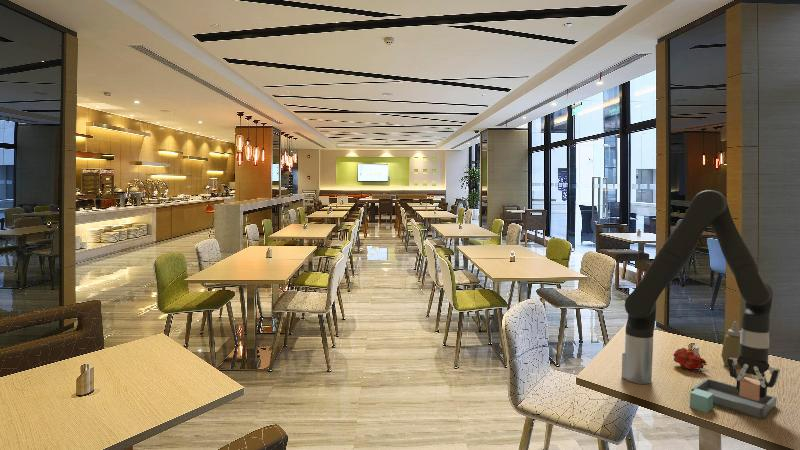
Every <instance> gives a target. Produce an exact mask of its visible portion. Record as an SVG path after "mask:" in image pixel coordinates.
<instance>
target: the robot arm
mask: <svg viewBox="0 0 800 450" xmlns="http://www.w3.org/2000/svg"><path fill="white" fill-rule="evenodd" d="M709 226H710V227H711V229H712V230H713V232H714V235H715V236H716V239H717V241H718V245H719V247H720V251H721V253H722V255H723V258H724V259H725V261H726V264H727V265H728V267H729V269H730V270H731V272H732V275H733V276H734V279H735V282H736V285H737V288H738V290H739V293H740V295H741V297H742V298H743V300H744V301H745V307H744V308H745V309H744V312H742V313H743V314H742V319H741V320H742V321H741V330H740V331H741V334H740V350H739V358H738V359H734V358H732V357H731V358H729V359H728V360H727V361H728V366H727V367H728V371H729V372H728V373H729V376H730V378H734V379H735V380H736V385H735V386H736V388H737V389H738V392H740V381H741V380H742V379H743V378H744V377H746V374H747V375H752V376H756V377H757V380H759V381H760V384H761V387H760V398H764V397H765V396H766V395H768V393H767V392H768V388H773V387H774V386H775V385H776V383H777V380H778V378H779V375H780V372H781V370H780V368H775V367H772V366H770V364H769V352H770V321H771V320H770V313H771V309H772V302H773V298H774V297H773V296H774V295H773V294H774V293H773V289H772V287H771V286H770V285H769V283H767V282H765V281H763V279H762V278H761V275H760V274H759V267H758V265H757V263H756V261H755V259H754V257H753V255H752V253H751V252H750V250H749V248H748V246H747V245H746V243H745V241H744V240H743V238H742V236H741V234H740V232H739V230H738V229H737V226H736V224H735V222H734V220H733V217H732V214H731V212H730V207H729V205H728V200H727V197H726V196H725V195H724V194H723V193H722V192H720V191H719V190H718V191H717V190H713V189H706V190H702V191H700V192H698V193H697V194H696V195H695V196H694V197H693V199H692V201H691V203H690V205H689V207H688V209H687V210H686V212H685V214H684V216H683V218H682V219H681V220H680V222H679V224H678V225H677V227H676V228H674V230H673V231H672V232H671V233H670V235H669V237H668V238H667V239H666V241H664V243H663V244H662V246H661V248H660V249H659V250H658V252H657V253H656V255H655V257H654V258H653V259H652V261H651V263H650V265H649V267H648V268H647V271H646V272H645V275H644V276H643V278H642V279H641V280H640V282H639V283H638V284H637V286H636V287H635V288H634V289H633V290H632V292H631V293H630V294H629V295H628V296H627V297H626V298H625V301H624V308H625V309H624V310H625V311H626V313H627V314H628V315H627V321H626V324H625V337H624V338H625V340H624V341H625V342H624V351H623V352H622V355H621V378H623V379H625V380H626V381H628V382H631V383H634V384H638V385H647V384H651V383H652V380H653V379H652V377H653V353H654V333H655V332H654V331H655V326H656V318H657V317H656V315H657V300H658V299H659V297H660V296H661V294H662V292H663V291H664V290H665V289H666V288H667V287H668V285H670V284H671V283H672V281H674V279H676V277H677V276H678V275H679V274H680V273H681V272H682V270H683V269H684V268H685V266H686V264H688V262H689V260H690V259H691V258H692V256H693V254H694V252H695V250H696V248H697V245H698V243H699V240H700V238H701V236H702V235H703V233H704V232H705V230H707V228H708V227H709ZM737 362H738V364H739V365H740V367H741V368H740V371H739V373H737V368H736V367H735V365H736V364H737ZM767 371H769V374H770V375H771V376H770V379H769V381H767V380H768V379H767V376H766V372H767Z"/></svg>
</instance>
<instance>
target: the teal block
mask: <svg viewBox="0 0 800 450" xmlns="http://www.w3.org/2000/svg"><path fill="white" fill-rule="evenodd" d="M713 395H714V394H713V393H710V392H707V391H703V390H700V389H697V388H696V389H695V390H694V391H692V392H691V391H690V394H689V408H691V409H694V410H696V411H697V410H698V411H700V412H703V413H706V414H707V413H709V412H710V411H711V410H712V409H714V404H713Z"/></svg>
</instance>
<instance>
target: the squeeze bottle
mask: <svg viewBox="0 0 800 450" xmlns="http://www.w3.org/2000/svg"><path fill="white" fill-rule="evenodd" d="M739 329H740V328H739V324H738V321H735V320H734V321H733V323H732V325H731V328H729V329H728V330H727V334H724V339H723V344H722V350H721V358H722V362H723V364H724V366H726V367H728V361H727V360H728V359H729V358H731V357H732V358H734V359H738V358H739V350H740V334H741V330H739ZM735 367H736V369H742V368H741V367H740V365H739V364H738V362H737V364H736V365H735Z"/></svg>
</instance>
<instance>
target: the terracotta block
mask: <svg viewBox="0 0 800 450" xmlns="http://www.w3.org/2000/svg"><path fill="white" fill-rule="evenodd" d="M760 387H761V384H760V381H759V380H758V379H754V378H751V377H746V376H744V377H743V379H742V380H741V381H740V392H739V396H742V397H745V398H749V399H752V400H756V401H759V400H760V399H761V398H760Z"/></svg>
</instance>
